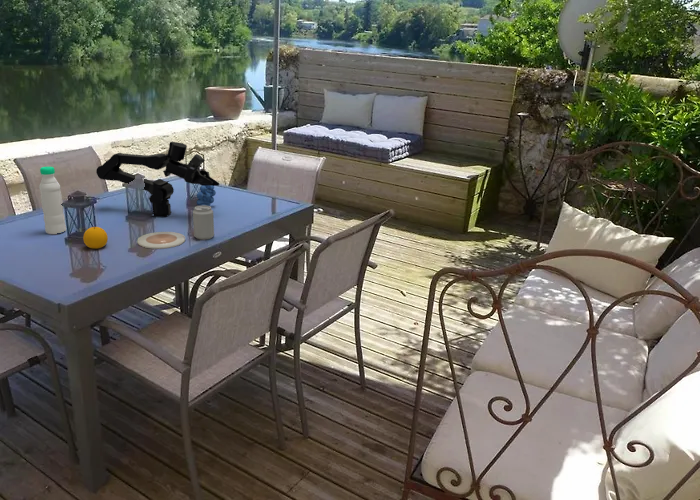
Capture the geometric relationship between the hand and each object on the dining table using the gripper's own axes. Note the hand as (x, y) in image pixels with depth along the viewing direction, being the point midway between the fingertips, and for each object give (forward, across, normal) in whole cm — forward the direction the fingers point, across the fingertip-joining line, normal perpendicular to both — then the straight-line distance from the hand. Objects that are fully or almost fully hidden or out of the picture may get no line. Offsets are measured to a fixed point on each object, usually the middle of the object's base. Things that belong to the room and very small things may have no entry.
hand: (215, 183), depth 234 cm
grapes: (-7, +20, +13) cm, 25 cm away
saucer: (-4, -24, +26) cm, 35 cm away
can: (+8, -16, +20) cm, 27 cm away
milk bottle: (-45, -22, +38) cm, 63 cm away
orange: (-22, -34, +35) cm, 53 cm away
